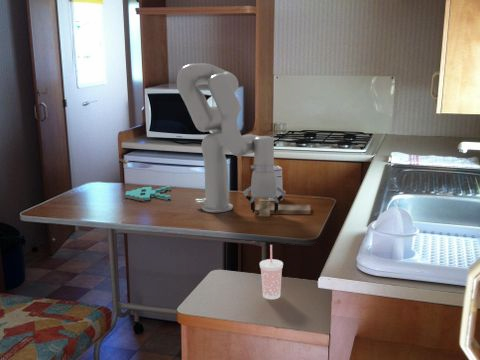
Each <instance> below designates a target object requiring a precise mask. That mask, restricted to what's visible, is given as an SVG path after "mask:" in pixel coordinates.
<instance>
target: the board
mask: <svg viewBox="0 0 480 360" xmlns="http://www.w3.org/2000/svg"><path fill="white" fill-rule="evenodd" d="M254 214H255V215H256V214H257V215H259V203H257V204H256V203H255V212H254ZM271 214H272V215H311V204H278V210H276V213H275V212H274V204H270V215H271Z"/></svg>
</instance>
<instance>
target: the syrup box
mask: <svg viewBox="0 0 480 360" xmlns="http://www.w3.org/2000/svg"><path fill="white" fill-rule="evenodd" d="M274 171H275V172H276V177H277V186H278V187H280V188H281V189H283V187H284V186H283V168H282V167H281V166H279V165H274ZM283 190H284V189H283ZM280 195H281V192H279V191H278V190H277V197H279V196H280ZM283 198H284V197H283ZM283 198H282V199H281V200H280V201H283ZM267 200H270V202H275V200H274V199H273V198H267Z"/></svg>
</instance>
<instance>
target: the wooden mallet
mask: <svg viewBox="0 0 480 360" xmlns="http://www.w3.org/2000/svg"><path fill="white" fill-rule="evenodd" d="M258 204H259V214H258V215H259V217H270V215H271V214H270V205H271V201H270V200H269V199H259V200H258Z"/></svg>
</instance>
